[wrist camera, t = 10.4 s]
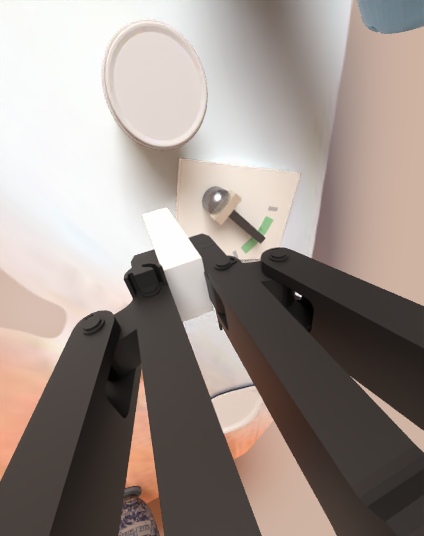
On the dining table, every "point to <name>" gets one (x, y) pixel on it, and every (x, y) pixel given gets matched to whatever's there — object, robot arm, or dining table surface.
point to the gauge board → (250, 207)
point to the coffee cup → (154, 84)
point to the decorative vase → (136, 515)
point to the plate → (237, 407)
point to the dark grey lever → (227, 209)
